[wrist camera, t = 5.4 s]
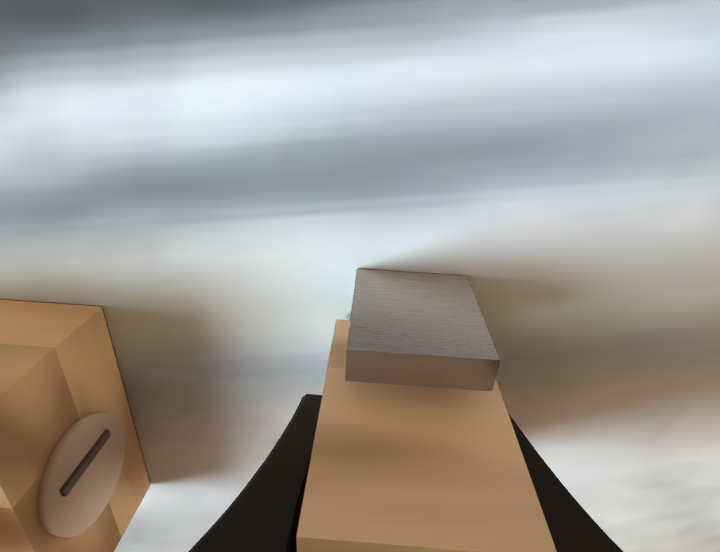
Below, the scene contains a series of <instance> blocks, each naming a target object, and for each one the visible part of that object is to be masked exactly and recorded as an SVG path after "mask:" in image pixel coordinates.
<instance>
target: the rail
mask: <svg viewBox="0 0 720 552" xmlns="http://www.w3.org/2000/svg"><path fill="white" fill-rule="evenodd" d="M499 362H500V359H499V356H498V354H497V351H496V348H495V346H494V343H493V341H492V338H491V336H490V333H489V330H488V328H487V325H486V323H485V320H484V318H483V315H482V312H481V310H480V307H479V305H478V302H477V300H476V297H475V294H474V292H473V289H472V287H471V284H470V281H469V279H468V276H458V275H443V274H428V273H413V272H398V271H382V270H367V269H357V272H356V280H355V288H354V295H353V303H352V311H351V318H350V326H349V334H348V341H347V349H346V373H345V381H353V382H367V383H381V384H395V385H409V386H423V387H437V388H451V389H464V390H478V391H492V390H493V386H494V382H495V378H496V374H497V370H498V366H499Z"/></svg>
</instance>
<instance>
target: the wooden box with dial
mask: <svg viewBox="0 0 720 552" xmlns="http://www.w3.org/2000/svg"><path fill="white" fill-rule="evenodd" d="M149 487H150V482H149V478H148V475H147V471H146V467H145V464H144V460H143V456H142V452H141V449H140V445H139V441H138V438H137V434H136V430H135V427H134V423H133V419H132V416H131V412H130V408H129V405H128V401H127V397H126V394H125V390H124V386H123V383H122V379H121V375H120V372H119V368H118V364H117V361H116V357H115V353H114V350H113V346H112V342H111V339H110V335H109V331H108V328H107V324H106V320H105V317H104V313H103V309H102V307H99V306H85V305H70V304H56V303H41V302H27V301H12V300H0V552H114V550H115V548H116V547H117V545H118V543H119V541H120V539H121V537H122V536H123V534H124V532H125V530H126V528H127V527H128V525H129V523H130V521H131V519H132V518H133V516H134V514H135V512H136V510H137V508H138V507H139V505H140V503H141V501H142V499H143V498H144V496H145V494H146V492H147V490H148V488H149Z"/></svg>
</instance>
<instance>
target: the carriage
mask: <svg viewBox="0 0 720 552" xmlns="http://www.w3.org/2000/svg"><path fill="white" fill-rule="evenodd" d="M349 326H350V321H349V320H336V324H335V330H334V335H333V341H332V346H331V351H330V357H329V362H328V368H327V373H326V378H325V384H324V389H323V395H322V400H321V406H320V411H319V416H318V422H317V427H316V433H315V438H314V443H313V449H312V454H311V460H310V465H309V471H308V476H307V481H306V487H305V492H304V498H303V503H302V509H301V514H300V519H299V525H298V530H297V536H296V543H297V552H557V551H556V548H555V545H554V543H553V540H552V537H551V534H550V531H549V528H548V525H547V523H546V520H545V517H544V514H543V511H542V508H541V506H540V503H539V500H538V497H537V494H536V491H535V489H534V486H533V483H532V480H531V477H530V474H529V472H528V469H527V466H526V463H525V460H524V457H523V455H522V452H521V449H520V446H519V443H518V440H517V437H516V435H515V432H514V429H513V426H512V423H511V420H510V418H509V415H508V412H507V409H506V406H505V403H504V401H503V398H502V395H501V392H500V389H499V386H498V384H497V381H496V378H495V382H494V386H493V390H492V391H478V390H464V389H451V388H437V387H423V386H409V385H395V384H381V383H367V382H353V381H345V373H346V349H347V341H348V334H349Z"/></svg>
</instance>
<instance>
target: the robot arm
mask: <svg viewBox="0 0 720 552" xmlns="http://www.w3.org/2000/svg"><path fill="white" fill-rule="evenodd" d="M321 400H322V395H311V394H306V395H305V396H303V397H302V399H301V402H300V404H299V406H298V408H297V410H296V412H295V413H294V415H293V417H292V419H291V421H290V422H289V424H288V426H287V427H286V429H285V431H284V432H283V434H282V436H281V437H280V439H279V440H278V442H277V443H276V445H275V446H274V448H273V449H272V451H271V452H270V454H269V455H268V457H267V458H266V460H265V461H264V462H263V464H262V465H261V467H260V468H259V469H258V471H257V472H256V473H255V475H254V476H253V477H252V479H251V480H250V481H249V483H248V484H247V485H246V487H245V488H244V489H243V491H242V492H241V493H240V494H239V496H238V497H237V498H236V499H235V500H234V502H233V503H232V504H231V505H230V506H229V508H228V509H227V510H226V511H225V512H224V513H223V515H222V516H221V517H220V518H219V519H218V520H217V522H216V523H215V524H214V525H213V526H212V527H211V528H210V529H209V530H208V531H207V532H206V534H205V535H204V536H203V537H202V538H201V539H200V540H199V541H198V542H197V543H196V544H195V545H194V546H193V548H192V549H191V550H190V551H189V552H297V543H296V536H297V530H298V525H299V519H300V514H301V509H302V503H303V498H304V492H305V487H306V481H307V476H308V471H309V465H310V460H311V454H312V449H313V443H314V438H315V433H316V427H317V422H318V416H319V411H320V406H321ZM508 415H509V413H508ZM509 418H510V420H511V423H512V426H513V429H514V432H515V435H516V437H517V440H518V443H519V446H520V449H521V452H522V455H523V457H524V460H525V463H526V466H527V469H528V472H529V474H530V477H531V480H532V483H533V486H534V489H535V491H536V494H537V497H538V500H539V503H540V506H541V508H542V511H543V514H544V517H545V520H546V523H547V525H548V528H549V531H550V534H551V537H552V540H553V543H554V545H555V548H556V551H557V552H623V551H622V550H621V549H620V548H619V547H618V546H617V545H616V544H615V543H614V542H613V541H612V540H611V539H610V538H609V537H608V536H607V535H606V533H605V532H604V531H603V530H602V529H601V528H600V527H599V526H598V525H597V524H596V523H595V522H594V520H593V519H592V518H591V517H590V516H589V515H588V514H587V512H586V511H585V510H584V509H583V508H582V507H581V506H580V504H579V503H578V502H577V501H576V500H575V499H574V498H573V496H572V495H571V494H570V493H569V492H568V490H567V489H566V488H565V487H564V486H563V484H562V483H561V482H560V481H559V479H558V478H557V477H556V476H555V474H554V473H553V472H552V471H551V469H550V468H549V467H548V466H547V464H546V463H545V462H544V460H543V459H542V458H541V457H540V455H539V454H538V453H537V451H536V450H535V449H534V447H533V446H532V445H531V443H530V442H529V441H528V439H527V438H526V437H525V435H524V434H523V432H522V431H521V430H520V428H519V427H518V426H517V424H516V423H515V421H514V420H513V419H512V417H511V416H510V415H509Z"/></svg>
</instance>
